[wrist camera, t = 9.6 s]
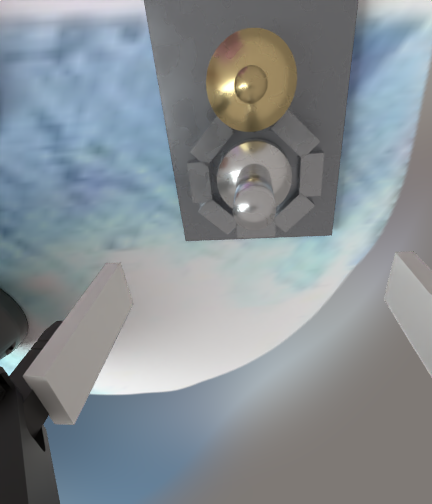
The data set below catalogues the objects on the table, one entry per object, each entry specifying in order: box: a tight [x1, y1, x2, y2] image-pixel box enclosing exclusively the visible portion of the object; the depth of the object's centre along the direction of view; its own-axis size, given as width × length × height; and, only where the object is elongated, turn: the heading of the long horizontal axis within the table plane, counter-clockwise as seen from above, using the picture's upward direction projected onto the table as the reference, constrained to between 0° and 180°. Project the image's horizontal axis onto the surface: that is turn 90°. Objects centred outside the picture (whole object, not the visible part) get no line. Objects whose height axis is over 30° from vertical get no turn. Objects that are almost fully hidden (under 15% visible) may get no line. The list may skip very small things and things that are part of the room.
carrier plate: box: [144, 0, 358, 241], centre depth 27 cm, size 16×22×3 cm
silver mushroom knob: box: [217, 138, 292, 230], centre depth 25 cm, size 7×7×8 cm
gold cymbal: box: [206, 28, 297, 132], centre depth 23 cm, size 7×7×4 cm
